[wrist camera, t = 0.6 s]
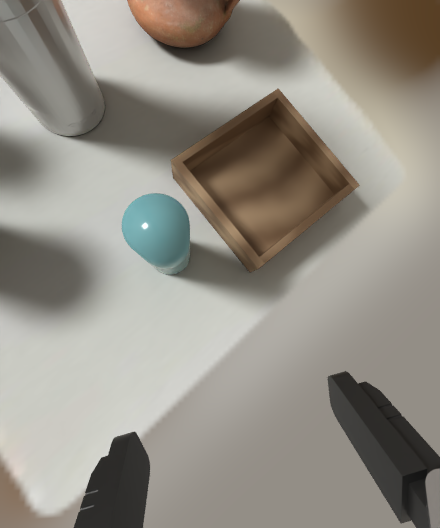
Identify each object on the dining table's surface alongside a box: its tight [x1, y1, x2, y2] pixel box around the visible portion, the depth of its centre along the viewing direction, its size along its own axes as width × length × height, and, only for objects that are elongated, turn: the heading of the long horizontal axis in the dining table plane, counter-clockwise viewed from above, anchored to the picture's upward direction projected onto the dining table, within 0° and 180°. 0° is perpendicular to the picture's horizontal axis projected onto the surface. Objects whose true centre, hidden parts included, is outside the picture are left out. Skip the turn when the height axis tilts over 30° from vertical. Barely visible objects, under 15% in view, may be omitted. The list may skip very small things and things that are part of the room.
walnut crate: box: [171, 89, 359, 272], centre depth 34 cm, size 17×18×4 cm
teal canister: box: [122, 193, 190, 275], centre depth 26 cm, size 5×5×14 cm
